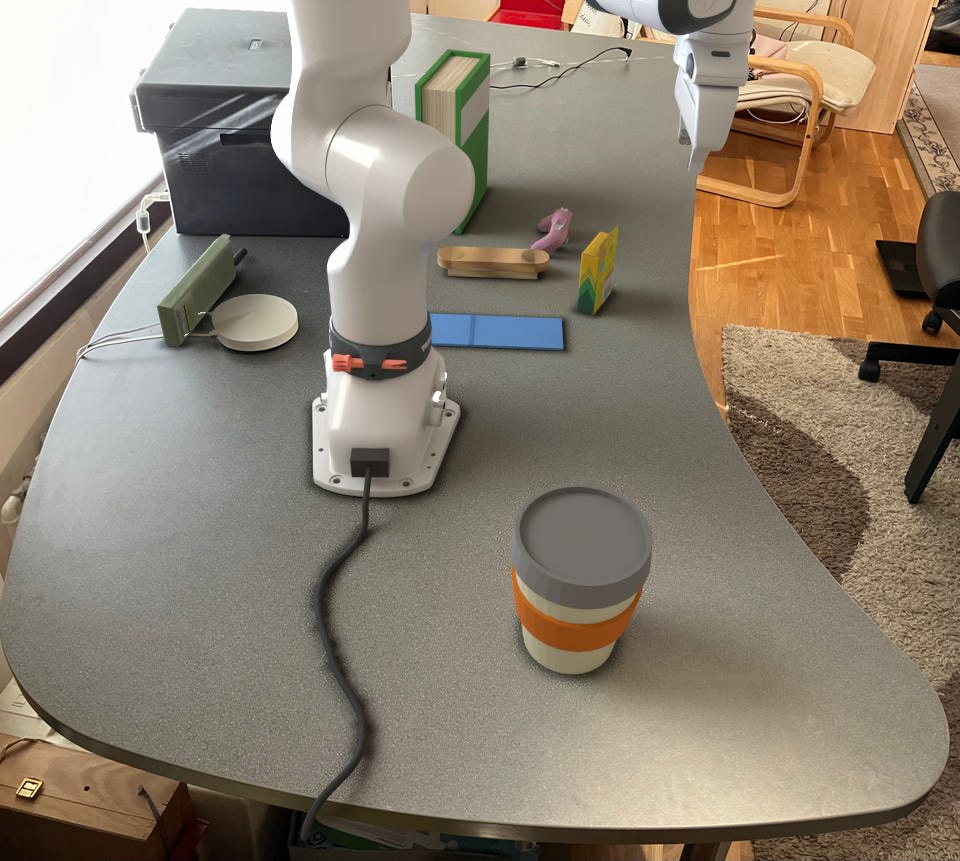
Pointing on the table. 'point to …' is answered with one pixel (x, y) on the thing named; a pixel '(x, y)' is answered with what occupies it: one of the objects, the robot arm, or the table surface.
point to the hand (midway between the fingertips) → (689, 156)
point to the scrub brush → (493, 262)
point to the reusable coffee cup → (577, 573)
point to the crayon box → (597, 272)
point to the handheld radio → (198, 290)
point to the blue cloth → (497, 331)
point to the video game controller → (554, 230)
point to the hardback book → (459, 109)
